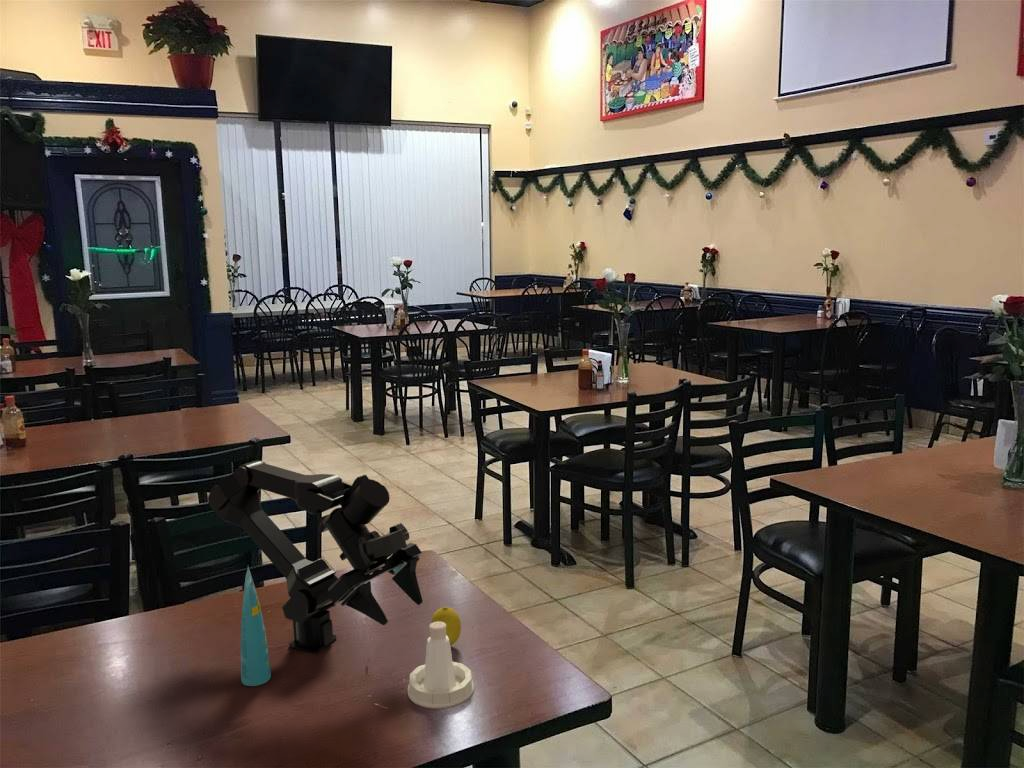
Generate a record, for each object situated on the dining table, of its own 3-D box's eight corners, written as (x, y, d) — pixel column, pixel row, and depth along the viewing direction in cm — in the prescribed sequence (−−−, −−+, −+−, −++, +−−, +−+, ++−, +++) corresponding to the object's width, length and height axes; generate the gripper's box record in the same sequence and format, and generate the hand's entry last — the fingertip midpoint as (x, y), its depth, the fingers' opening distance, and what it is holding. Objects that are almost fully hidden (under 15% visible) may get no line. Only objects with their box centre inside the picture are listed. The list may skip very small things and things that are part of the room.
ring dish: (394, 700, 132) (394, 686, 131) (428, 667, 142) (428, 654, 141) (454, 714, 127) (454, 700, 127) (485, 680, 137) (484, 667, 137)
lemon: (457, 656, 145) (455, 614, 144) (427, 653, 147) (425, 612, 145) (464, 641, 151) (463, 601, 149) (436, 639, 152) (434, 599, 150)
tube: (274, 686, 137) (266, 579, 133) (244, 693, 135) (235, 584, 131) (267, 665, 143) (259, 563, 140) (238, 672, 141) (230, 568, 138)
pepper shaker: (420, 694, 132) (417, 631, 130) (427, 676, 138) (424, 616, 136) (453, 695, 132) (451, 632, 130) (458, 678, 137) (456, 617, 135)
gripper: (339, 528, 129) (393, 610, 125) (413, 499, 145) (463, 571, 141) (305, 564, 135) (356, 644, 131) (380, 532, 150) (427, 602, 146)
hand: (403, 613), depth 137 cm, fingers open, 9 cm apart
